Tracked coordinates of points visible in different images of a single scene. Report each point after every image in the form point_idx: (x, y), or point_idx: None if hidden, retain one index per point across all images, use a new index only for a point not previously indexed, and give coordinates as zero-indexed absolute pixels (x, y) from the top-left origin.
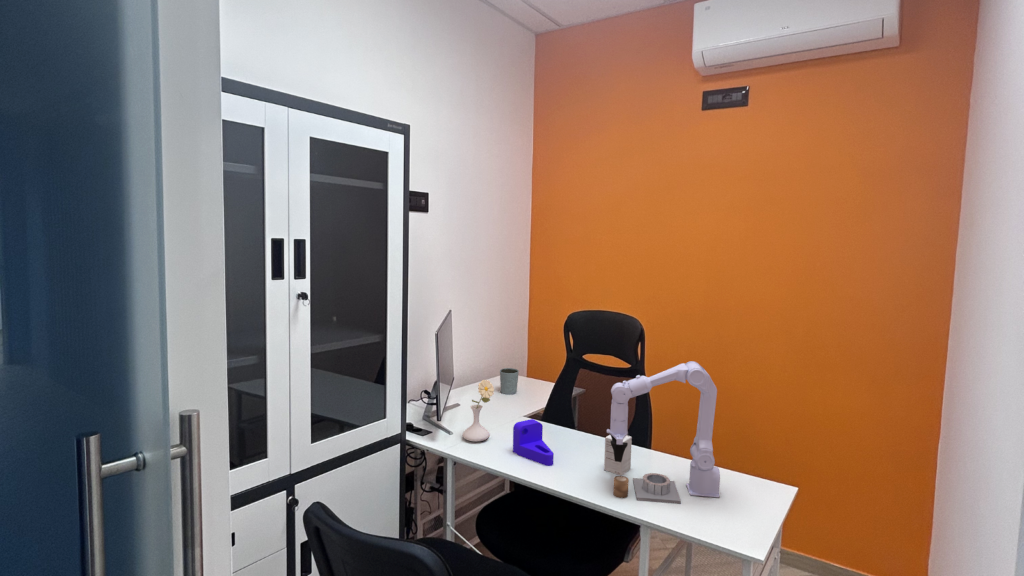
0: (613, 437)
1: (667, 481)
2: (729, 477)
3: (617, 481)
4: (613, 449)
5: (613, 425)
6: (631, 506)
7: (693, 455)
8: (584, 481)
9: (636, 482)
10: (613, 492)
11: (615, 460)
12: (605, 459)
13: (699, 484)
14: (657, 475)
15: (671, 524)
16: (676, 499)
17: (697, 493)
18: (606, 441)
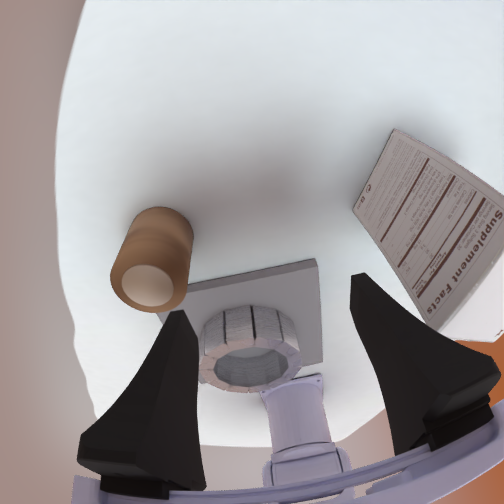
0: (409, 377)
1: (245, 388)
2: (369, 405)
3: (111, 273)
4: (115, 402)
5: None
6: (99, 282)
7: (300, 477)
8: (224, 43)
9: (277, 283)
10: (143, 214)
11: (166, 320)
12: (422, 151)
13: (269, 420)
14: (288, 365)
15: (87, 362)
16: (202, 377)
17: (267, 396)
18: (499, 208)
